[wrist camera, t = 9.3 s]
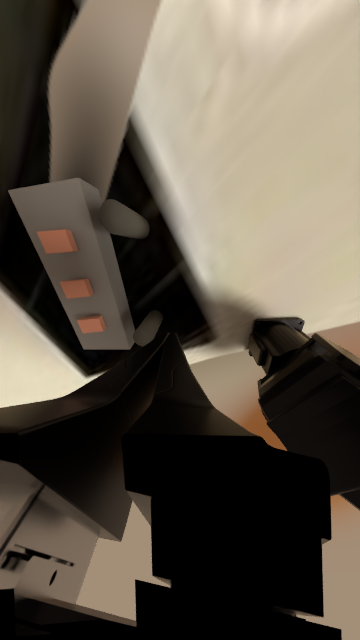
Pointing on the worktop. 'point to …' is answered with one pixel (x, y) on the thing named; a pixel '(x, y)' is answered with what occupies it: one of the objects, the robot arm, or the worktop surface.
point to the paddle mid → (77, 288)
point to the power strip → (79, 257)
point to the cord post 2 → (148, 328)
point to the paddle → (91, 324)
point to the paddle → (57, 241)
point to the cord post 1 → (123, 220)
